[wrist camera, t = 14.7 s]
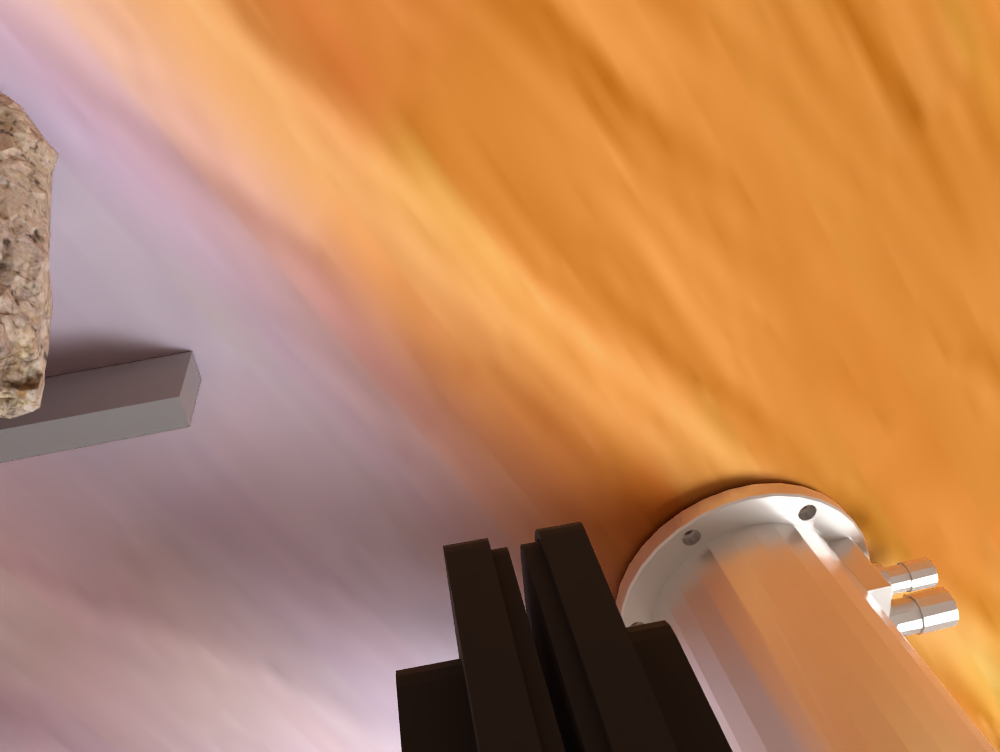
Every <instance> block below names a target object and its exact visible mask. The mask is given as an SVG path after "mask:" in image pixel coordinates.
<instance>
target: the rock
mask: <svg viewBox="0 0 1000 752" xmlns="http://www.w3.org/2000/svg"><path fill="white" fill-rule="evenodd" d="M57 158H58V153H57V152H56V151H55V150H54V149H53V148H52V147H51V146H50V145H49V143H48V142H47V141H46V140H45V138H44V137H43V136H42V135H41V133H40V132H39V130H38V129H37V127H36V126H35V124H34V123H33V122H32V120H31V119H30V118H29V116H28V115H27V114H26V112H25V111H24V110H23V108H22V107H21V106H20V105H19V104H17V103H16V102H15V101H13V100H12V99H10V98H9V97H7V96H6V95H4V94H2V93H0V418H8V419H10V418H14V417H17V416H21V415H24V414H27V413H29V412H33V411H34V410H36V409H38V408H40V406H41V400H42V394H43V390H44V386H45V368H46V363H47V359H48V352H49V345H50V323H51V315H52V307H53V304H52V293H51V283H50V273H49V247H50V217H51V191H52V174H53V170H54V167H55V164H56V161H57Z"/></svg>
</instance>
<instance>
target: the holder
mask: <svg viewBox="0 0 1000 752" xmlns="http://www.w3.org/2000/svg"><path fill="white" fill-rule="evenodd" d="M200 383H201V377H200V374H199V371H198V367H197V364H196V361H195V358H194V355H193V352H192V351H190V352H185V353H179V354H174V355H168V356H163V357H157V358H152V359H146V360H141V361H135V362H130V363H124V364H119V365H113V366H108V367H102V368H97V369H91V370H86V371H80V372H75V373H69V374H63V375H58V376H52V377H47V378H45V386H44V390H43V394H42V400H41V406H40V408H38V409H36V410H34V411H33V412H29V413H27V414H24V415H21V416H17V417H14V418H10V419H8V418H0V463H2V462H7V461H12V460H17V459H23V458H28V457H33V456H39V455H44V454H49V453H54V452H60V451H65V450H70V449H75V448H81V447H86V446H91V445H96V444H102V443H107V442H112V441H117V440H123V439H128V438H133V437H139V436H144V435H149V434H154V433H160V432H165V431H170V430H175V429H181V428H186V427H190V423H191V419H192V415H193V411H194V407H195V403H196V399H197V395H198V391H199V387H200Z"/></svg>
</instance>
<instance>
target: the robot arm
mask: <svg viewBox="0 0 1000 752" xmlns="http://www.w3.org/2000/svg"><path fill="white" fill-rule="evenodd" d="M443 549H444V557H445V564H446V570H447V577H448V584H449V591H450V598H451V605H452V611H453V618H454V625H455V632H456V639H457V646H458V652H459V659H456V660H451V661H445V662H440V663H435V664H430V665H424V666H419V667H414V668H408V669H403V670H398V671H396V686H397V698H398V711H399V723H400V735H401V747H402V752H997V751H996V750H995V749H994V747H993V746H992V745H991V744H990V743H989V741H988V740H987V739H986V738H985V736H984V735H983V734H982V733H981V731H980V730H979V729H978V728H977V726H976V725H975V724H974V723H973V721H972V720H971V719H970V718H969V716H968V715H967V714H966V713H965V712H964V710H963V709H962V708H961V707H960V705H959V704H958V703H957V702H956V700H955V699H954V698H953V697H952V695H951V694H950V693H949V692H948V690H947V689H946V688H945V687H944V685H943V684H942V683H941V682H940V681H939V679H938V678H937V677H936V676H935V674H934V673H933V672H932V671H931V669H930V668H929V667H928V666H927V664H926V663H925V662H924V661H923V659H922V658H921V657H920V656H919V654H918V653H917V652H916V651H915V650H914V648H913V647H912V646H911V645H910V643H909V642H908V641H907V640H906V638H905V637H904V636H907V635H912V634H918V635H921V634H925V633H930V632H934V631H938V630H942V629H947V628H951V627H954V626H956V625H957V623H958V620H959V615H958V609H957V606H956V603H955V601H954V599H953V597H952V596H951V594H950V593H949V592H948V591H947V590H946V589H944V588H943V587H936V588H931V589H927V590H922V591H918V592H914V593H909V594H905V595H904V596H903V597H902V598H898V599H893V600H891V599H892V594H896V593H900V592H905V591H906V592H911V591H916V590H920V589H924V588H929V587H933V586H936V584H937V582H938V574H937V571H936V568H935V566H934V565H933V563H932V562H931V560H929V559H928V558H926V557H924V558H919V559H915V560H911V561H906V562H902V563H898V564H897V565H895V566H890V567H886V568H883V567H882V566H881V565H880V564H877V563H873V564H872V563H871V561H870V554H869V549H868V546H867V543H866V540H865V537H864V535H863V533H862V532H861V530H860V529H859V527H858V526H857V525H856V523H855V522H854V520H853V519H852V518H851V517H850V516H849V515H848V514H847V513H846V512H845V511H844V510H843V509H842V507H841V506H840V505H839V504H838V503H836V502H835V501H833V500H832V499H830V498H828V497H827V496H825V495H824V494H822V493H820V492H817V491H814V490H811V489H809V488H806V487H803V486H798V485H790V484H783V483H767V484H753V485H748V486H743V487H738V488H734V489H729V490H727V491H724V492H721V493H719V494H716V495H713V496H710V497H708V498H705V499H703V500H701V501H700V502H698V503H696V504H694V505H692V506H690V507H689V508H687V509H685V510H683V511H681V512H680V513H679V514H677V515H676V516H675V517H673V518H672V519H671V520H669V521H668V522H667V523H665V524H664V525H663V526H661V527H660V528H659V529H658V530H657V531H656V532H655V533H654V534H653V535H652V536H651V537H650V538H649V539H648V541H647V542H646V543H645V544H644V545H643V546H642V547H641V549H640V550H639V551H638V553H637V554H636V556H635V557H634V559H633V560H632V561H631V563H630V564H629V566H628V568H627V570H626V573H625V575H624V577H623V579H622V581H621V584H620V586H619V591H618V595H617V600H616V603H615V600H614V598H613V596H612V593H611V591H610V588H609V586H608V584H607V581H606V579H605V577H604V574H603V572H602V569H601V567H600V565H599V562H598V560H597V558H596V555H595V553H594V550H593V548H592V546H591V543H590V541H589V539H588V536H587V534H586V531H585V529H584V527H583V525H582V524H581V523H580V522H577V523H572V524H566V525H560V526H554V527H549V528H543V529H537V530H536V531H535V542H534V543H528V544H522V545H521V548H520V550H521V562H522V572H523V583H524V593H525V603H526V611H525V607H524V604H523V600H522V597H521V593H520V589H519V586H518V582H517V579H516V575H515V572H514V568H513V565H512V561H511V558H510V554H509V551H508V548H507V547H505V548H500V549H494V550H491V548H490V544H489V541H488V539H487V538H486V539H480V540H474V541H468V542H463V543H457V544H451V545H446V546H443Z"/></svg>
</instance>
